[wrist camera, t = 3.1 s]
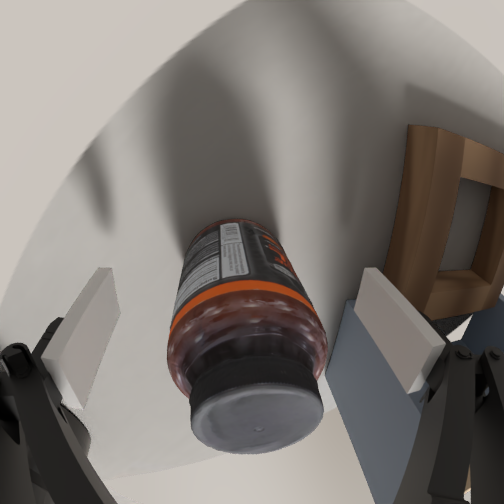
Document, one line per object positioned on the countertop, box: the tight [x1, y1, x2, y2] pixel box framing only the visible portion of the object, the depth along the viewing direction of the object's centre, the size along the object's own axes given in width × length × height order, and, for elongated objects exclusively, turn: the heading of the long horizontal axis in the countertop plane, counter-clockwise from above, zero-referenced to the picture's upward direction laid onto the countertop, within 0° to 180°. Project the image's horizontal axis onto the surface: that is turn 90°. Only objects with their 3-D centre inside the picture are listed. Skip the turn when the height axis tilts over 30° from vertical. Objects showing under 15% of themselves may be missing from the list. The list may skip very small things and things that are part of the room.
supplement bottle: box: [167, 219, 328, 454], centre depth 12 cm, size 6×6×11 cm
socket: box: [383, 125, 504, 321], centre depth 17 cm, size 13×13×3 cm
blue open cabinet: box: [325, 293, 504, 504], centre depth 16 cm, size 18×8×16 cm, turn 87°
